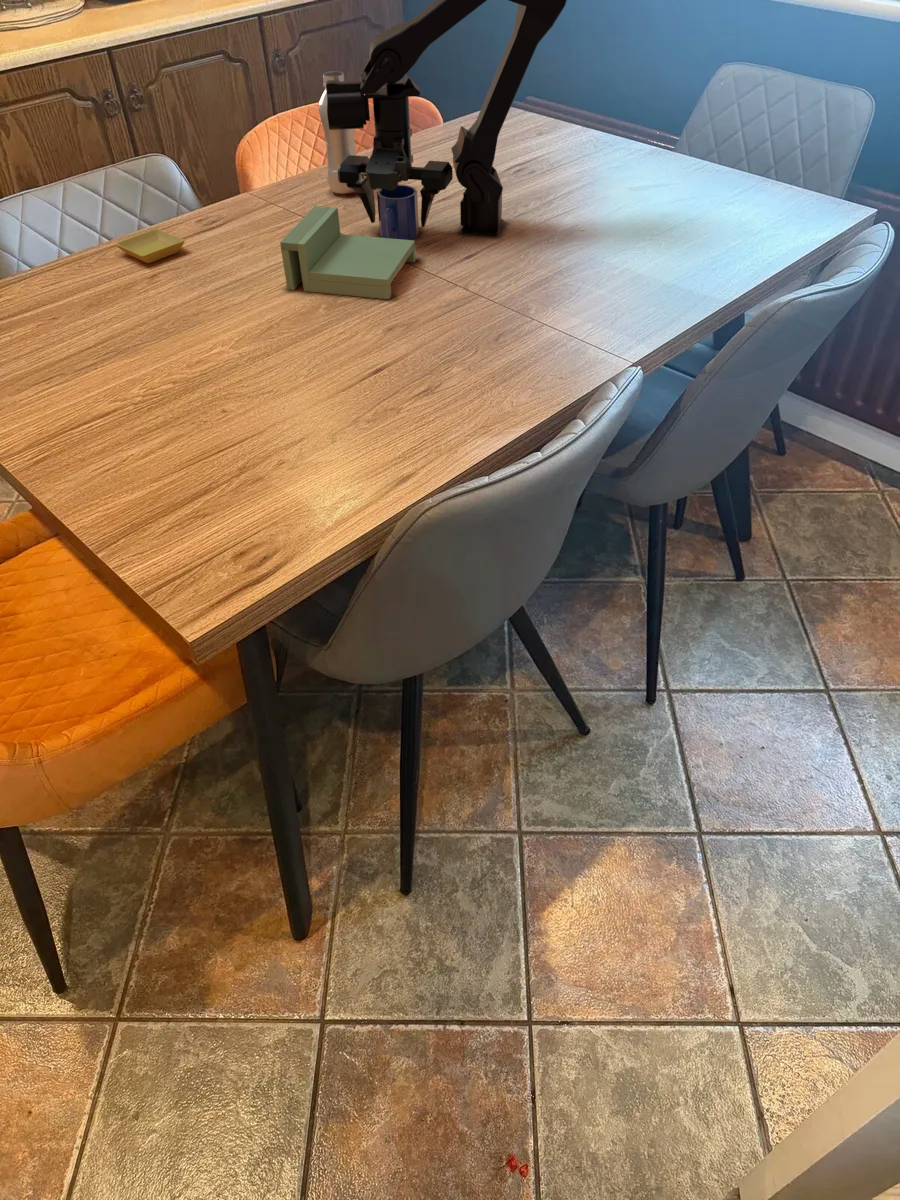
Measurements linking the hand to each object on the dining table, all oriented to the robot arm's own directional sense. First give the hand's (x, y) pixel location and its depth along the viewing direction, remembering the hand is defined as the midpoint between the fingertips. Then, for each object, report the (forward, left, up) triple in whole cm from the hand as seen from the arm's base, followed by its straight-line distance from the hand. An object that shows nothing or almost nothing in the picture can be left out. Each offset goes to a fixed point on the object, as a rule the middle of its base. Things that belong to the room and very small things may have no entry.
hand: (398, 224), depth 150 cm
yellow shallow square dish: (+39, +17, -2) cm, 43 cm away
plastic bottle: (+16, -17, -2) cm, 23 cm away
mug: (0, +1, -1) cm, 2 cm away
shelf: (+2, +17, -2) cm, 18 cm away
